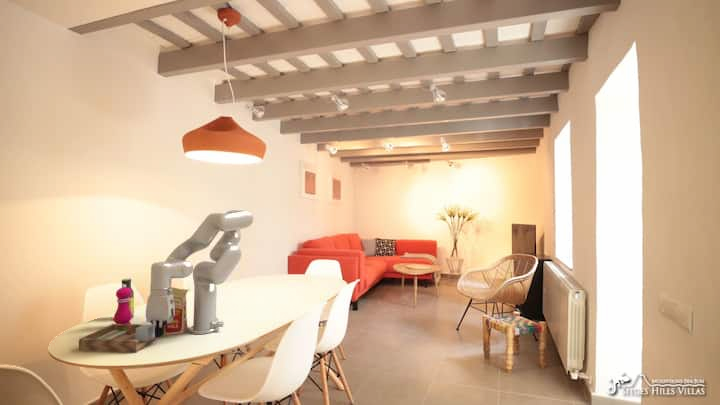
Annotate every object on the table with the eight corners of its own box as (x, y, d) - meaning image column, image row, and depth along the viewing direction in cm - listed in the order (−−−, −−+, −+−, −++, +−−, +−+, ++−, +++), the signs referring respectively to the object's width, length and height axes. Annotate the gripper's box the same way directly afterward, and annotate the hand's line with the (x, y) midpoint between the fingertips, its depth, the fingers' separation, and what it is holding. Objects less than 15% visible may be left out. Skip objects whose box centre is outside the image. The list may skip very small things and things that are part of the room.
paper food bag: (162, 334, 151) (164, 289, 151) (168, 327, 160) (169, 285, 160) (185, 333, 154) (186, 288, 154) (189, 326, 162) (190, 284, 163)
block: (154, 336, 144) (155, 324, 144) (147, 341, 139) (147, 328, 139) (143, 336, 144) (143, 324, 144) (135, 340, 139) (135, 328, 139)
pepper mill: (122, 330, 155) (123, 286, 156) (109, 329, 157) (110, 285, 157) (135, 325, 162) (137, 283, 163) (122, 323, 164) (124, 282, 164)
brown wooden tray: (164, 335, 150) (164, 325, 150) (136, 352, 132) (136, 341, 132) (113, 333, 151) (113, 323, 151) (78, 350, 133) (79, 339, 133)
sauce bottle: (131, 315, 176) (132, 277, 177) (135, 318, 172) (137, 279, 173) (116, 318, 171) (117, 279, 171) (120, 321, 167) (121, 280, 168)
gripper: (183, 290, 145) (181, 333, 145) (148, 289, 146) (147, 332, 145) (173, 294, 138) (171, 340, 137) (137, 293, 138) (135, 339, 138)
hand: (159, 336), depth 141 cm, fingers closed
